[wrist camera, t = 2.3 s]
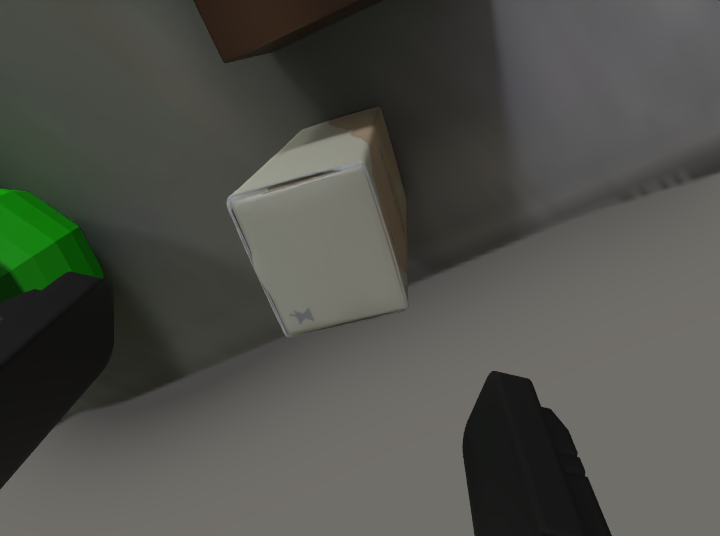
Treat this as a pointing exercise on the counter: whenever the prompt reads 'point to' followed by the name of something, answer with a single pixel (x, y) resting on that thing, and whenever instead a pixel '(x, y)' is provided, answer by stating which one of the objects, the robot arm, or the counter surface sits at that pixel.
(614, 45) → the counter surface
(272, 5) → the shelf
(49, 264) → the plastic bottle
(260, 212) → the box
